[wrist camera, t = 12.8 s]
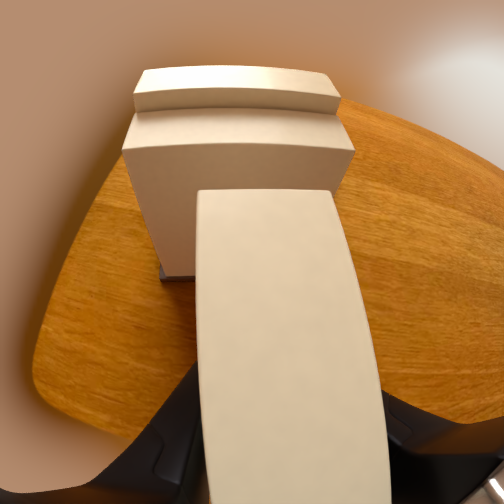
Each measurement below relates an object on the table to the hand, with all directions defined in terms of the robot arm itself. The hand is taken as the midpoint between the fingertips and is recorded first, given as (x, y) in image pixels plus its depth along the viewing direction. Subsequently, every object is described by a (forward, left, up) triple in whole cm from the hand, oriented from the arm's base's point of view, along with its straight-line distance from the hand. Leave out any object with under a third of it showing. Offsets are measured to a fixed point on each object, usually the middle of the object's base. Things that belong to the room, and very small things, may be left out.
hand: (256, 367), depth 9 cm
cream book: (-1, 0, -8) cm, 8 cm away
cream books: (+11, +4, -11) cm, 16 cm away
